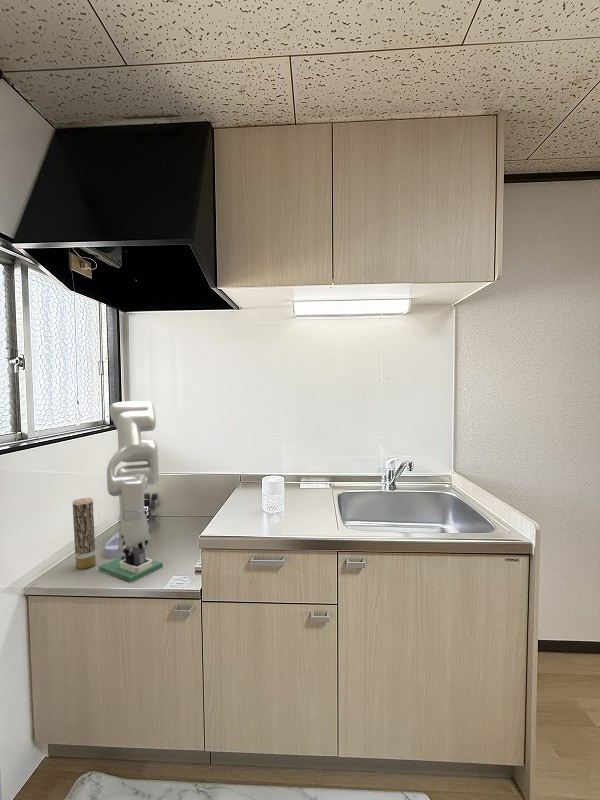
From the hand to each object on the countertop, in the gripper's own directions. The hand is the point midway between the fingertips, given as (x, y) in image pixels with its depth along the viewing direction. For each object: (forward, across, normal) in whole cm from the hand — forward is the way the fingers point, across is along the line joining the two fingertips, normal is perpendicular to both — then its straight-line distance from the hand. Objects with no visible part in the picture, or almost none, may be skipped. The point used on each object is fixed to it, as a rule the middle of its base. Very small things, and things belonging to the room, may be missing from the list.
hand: (135, 561), depth 166 cm
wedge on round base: (+4, -8, -21) cm, 23 cm away
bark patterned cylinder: (+3, +7, -20) cm, 21 cm away
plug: (+2, 0, 0) cm, 2 cm away
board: (+3, 0, -3) cm, 4 cm away
